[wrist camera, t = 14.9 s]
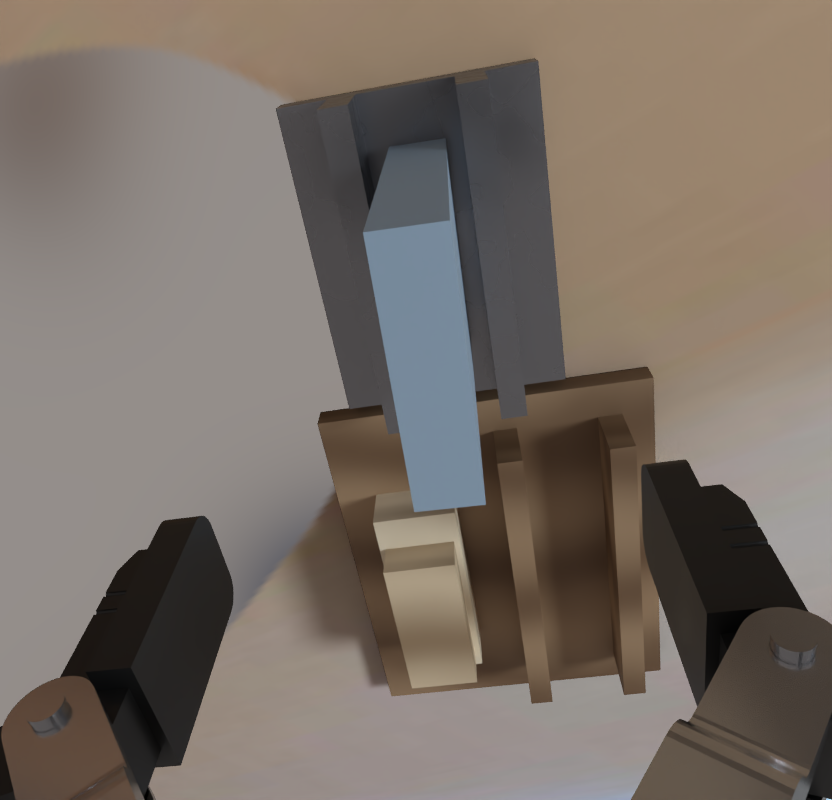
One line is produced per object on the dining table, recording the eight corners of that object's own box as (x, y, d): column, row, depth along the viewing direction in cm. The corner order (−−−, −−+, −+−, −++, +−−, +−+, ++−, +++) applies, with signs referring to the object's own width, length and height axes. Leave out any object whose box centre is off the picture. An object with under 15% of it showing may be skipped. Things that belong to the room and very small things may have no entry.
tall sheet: (389, 146, 26) (362, 232, 17) (445, 138, 26) (449, 220, 17) (421, 351, 30) (414, 512, 21) (471, 345, 30) (485, 504, 21)
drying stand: (280, 104, 27) (260, 120, 24) (534, 58, 26) (547, 67, 23) (352, 397, 32) (342, 440, 29) (561, 368, 31) (575, 409, 28)
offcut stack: (376, 494, 34) (370, 545, 31) (453, 485, 33) (455, 535, 30) (411, 638, 38) (408, 696, 35) (480, 631, 37) (483, 688, 34)
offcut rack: (320, 412, 33) (308, 456, 30) (647, 366, 31) (670, 408, 28) (392, 681, 41) (389, 737, 38) (655, 654, 39) (673, 711, 36)
